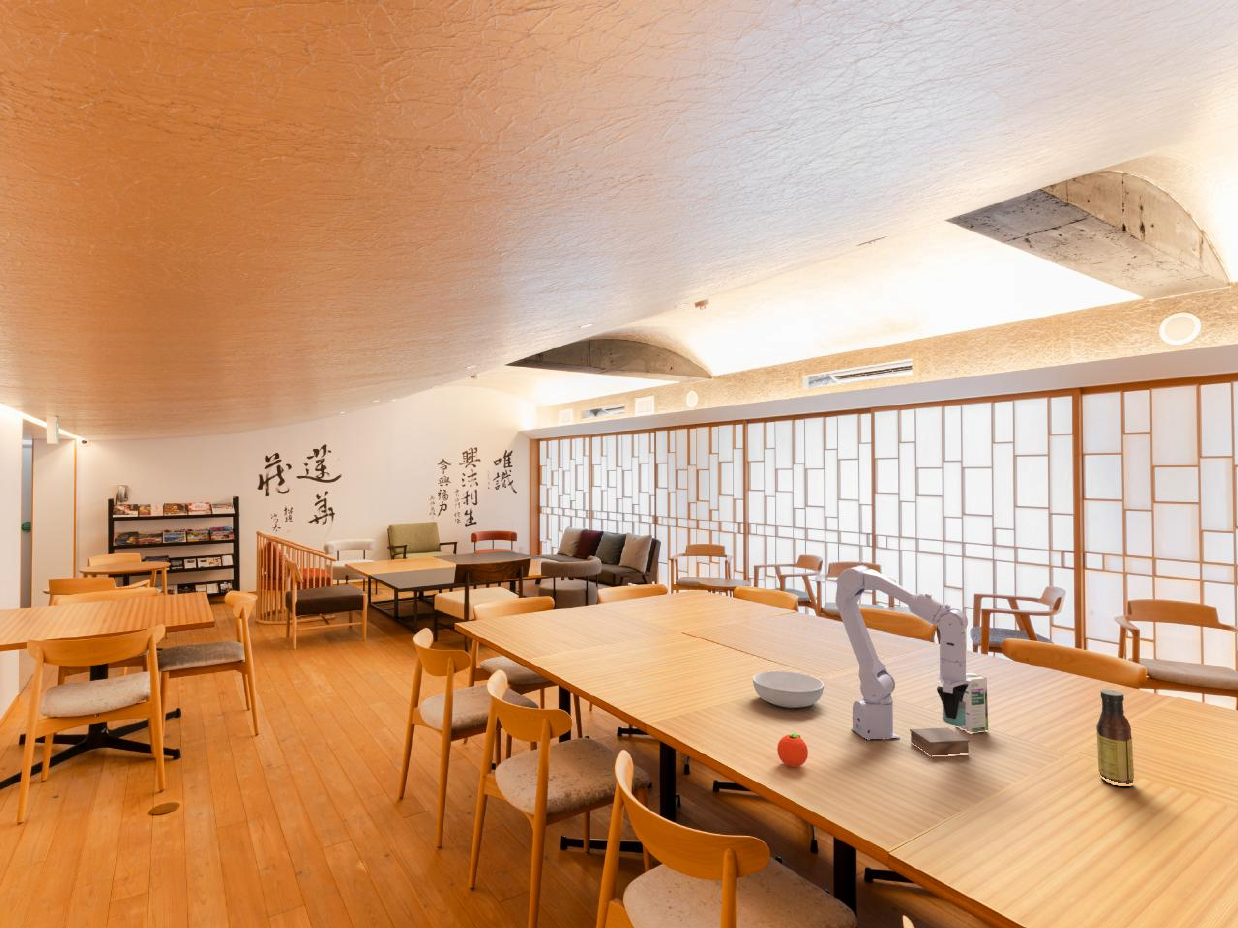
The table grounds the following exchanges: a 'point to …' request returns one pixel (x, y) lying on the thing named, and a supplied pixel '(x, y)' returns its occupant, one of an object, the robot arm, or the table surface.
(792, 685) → the serving bowl
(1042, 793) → the table surface
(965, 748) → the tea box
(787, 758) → the tomato
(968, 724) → the syrup box
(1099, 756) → the sauce bottle
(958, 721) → the cylinder
